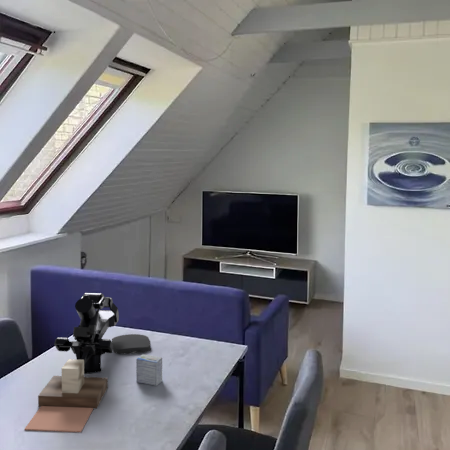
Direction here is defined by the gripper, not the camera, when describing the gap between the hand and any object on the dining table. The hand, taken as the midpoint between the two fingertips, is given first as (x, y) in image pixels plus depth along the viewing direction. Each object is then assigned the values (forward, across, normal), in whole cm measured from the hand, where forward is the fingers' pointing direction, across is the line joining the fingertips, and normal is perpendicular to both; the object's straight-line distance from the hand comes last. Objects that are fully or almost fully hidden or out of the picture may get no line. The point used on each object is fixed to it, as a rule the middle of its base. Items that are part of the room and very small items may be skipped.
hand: (79, 369), depth 172 cm
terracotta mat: (+18, 0, -9) cm, 21 cm away
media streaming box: (-22, +10, +32) cm, 39 cm away
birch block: (+7, 0, -2) cm, 7 cm away
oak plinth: (+9, 0, +1) cm, 9 cm away
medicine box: (0, +22, +10) cm, 24 cm away
